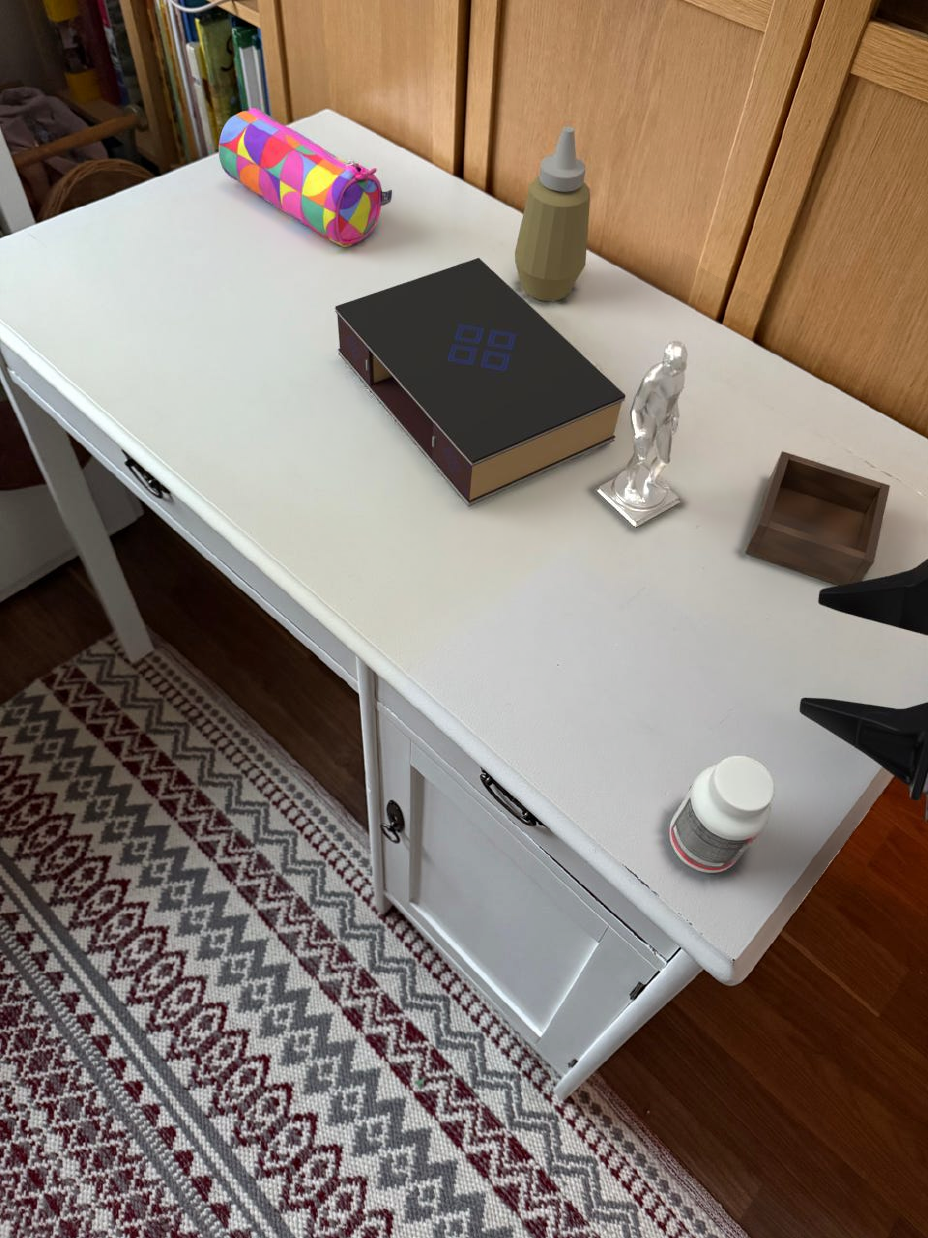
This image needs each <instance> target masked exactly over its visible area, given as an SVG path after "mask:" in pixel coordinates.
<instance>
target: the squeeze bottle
mask: <svg viewBox="0 0 928 1238" xmlns="http://www.w3.org/2000/svg"><path fill="white" fill-rule="evenodd" d="M575 133H576V132H575V128H574V127H572V126H569V125H565V126H564V127H562V129H561V132H560V134H559V138H558V140H557V143H556V147H555V149H554V152H553V154H550V155H548V156H546V157H544V158H543V159H542V160H541V162H540V169H539V176H537V177H535V178H534V179H533V180H532V181H531V182H530V184H529V186H528V191H527V194H526V195H527V196H526V200H525V205H524V210H523V214H522V218H521V223H520V228H519V231H518V235H517V236H518V237H517V241H516V246H515V250H514V262H515V266H516V270H517V275H518V278H519V281H520V282H519V283H520V286H521V289H522V290H523V291H524V293H525V294H526V295H528V296H530V297H531V298H533V299H536V300H539V301H544V302H555V301H559V300H560V301H561V300H563V299H564V298H566V297H567V296H569V294H570V293H571V291H572V290H573V288H574V286H575V284H576V282H577V281H578V280H579V277H580V276H581V274H582V272H583V270H584V269H585V266H586V264H587V263H586V262H587V249H588V234H589V219H590V205H591V189H590V187H589V186H588V185H587V184H586V182H585V175H586V164H585V163H584V162H583V161H582V160H581V159H580V158H578V157H577V153H576V137H575V136H576V135H575Z"/></svg>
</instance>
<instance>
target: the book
mask: <svg viewBox="0 0 928 1238" xmlns="http://www.w3.org/2000/svg"><path fill="white" fill-rule="evenodd" d="M334 310H335V311H334V312H335V313H336V315H337V316H336V317H337V329H338V343H339V348H338V349H337V350H338V353H337V354H338V355H339V356H340V357H341V359H342V360H343V361H344V362H345V363H346V364H347V366H348V367H349V368H350V369H351V371H352V372H353V373H354V374H355V375H356V376H357V377H358V379H359V380H360V381H361V382H362V383H363V384H364V386H365V387H366V388H367V389H368V390H369V391H370V393H371V394H372V395H373V396H374V397H375V399H376V401H378V402H379V404H381V406H382V407H383V409H385V411H386V412H387V413H388V414H389V415H390V416H391V418H392V419H393V420H394V421H395V422H396V423H397V424H398V426H399V427H400V428H401V429H402V430H403V431H404V433H405V434H406V435H407V436H408V437H409V439H410V440H411V441H412V443H414V445H415V446H416V448H418V449H419V451H420V452H421V453H422V455H424V456H425V458H426V459H427V460H428V461H429V462H430V464H431V465H432V466H433V467H434V468H435V469H436V471H437V472H438V473H439V475H441V476H442V478H443V479H444V480H445V481H446V482H447V484H449V486H450V488H452V489H453V490H454V492H455V493H456V494H457V496H459V498H461V500H462V501H463V502H464V504H465V505H466V506H467V507H468V508H469V507H471V506H473V505H476V504H478V503H480V502H482V501H485V500H487V499H489V498H491V497H493V496H496V495H498V494H500V493H503V492H505V491H507V490H509V489H512V488H513V487H516V486H519V485H520V484H523V483H524V482H527V481H529V480H532V479H534V478H536V477H539V476H540V475H543V474H544V473H547V472H549V471H551V470H553V469H555V468H558V467H560V466H563V465H564V464H567V463H569V462H571V461H573V460H575V459H578V458H580V457H583V456H584V455H586V454H589V453H591V452H593V451H595V450H598V449H600V448H603V447H604V446H607V445H608V444H611V443H613V442H616V435H615V431H616V428H617V424H618V420H619V416H620V412H621V407H622V404H623V402H625V401H626V394H625V393H624V391H622V390H621V389H620V388H619V387H617V386H616V385H615V383H613V382H612V381H611V380H610V379H609V378H608V377H607V376H606V375H605V374H604V373H602V372H601V370H599V368H598V367H596V366H595V365H594V364H593V362H591V361H590V360H589V359H588V358H587V357H586V356H585V355H583V354H582V353H581V352H580V351H579V350H578V349H577V348H576V347H575V346H574V345H573V344H572V343H570V341H569V340H568V339H567V338H565V337H564V336H563V335H562V334H561V333H560V332H559V331H558V330H557V329H555V327H554V326H552V324H550V323H549V322H548V321H547V320H546V319H545V318H544V317H543V316H542V315H541V314H539V312H538V311H537V310H536V309H534V308H533V306H531V305H530V304H529V303H528V302H527V301H526V300H525V299H523V297H521V295H520V294H518V293H517V292H516V291H515V290H514V289H513V288H512V287H511V286H510V285H509V284H507V282H505V280H503V279H502V278H501V277H500V276H499V275H498V274H497V273H496V272H495V271H494V270H493V269H491V267H490V266H488V264H486V263H485V262H484V261H483V260H482V259H481V258H480V257H477V258H474V259H471V260H467V261H465V262H462V263H459V264H456V265H452V266H450V267H447V268H444V269H441V270H438V271H436V272H433V273H430V274H429V273H428V274H427V275H424V276H421V277H417V278H414V279H412V280H409V281H406V282H403V283H400V284H398V285H394V286H391V287H389V288H385V289H381V290H379V291H376V292H373V293H371V294H368V295H365V296H362V297H358V298H356V299H353V300H349V301H346V302H344V303H341V304H338V305H335V306H334Z"/></svg>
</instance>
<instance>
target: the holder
mask: <svg viewBox="0 0 928 1238" xmlns="http://www.w3.org/2000/svg"><path fill="white" fill-rule="evenodd" d="M780 452H781V453H780V455H779V457H778V459H777V461H776V464H775V466H774V467H773V470H772V472H771V474H770V476H769V479H768V480H767V483H766V486H765V490H764V493H763V495H762V499H761V502H760V505H759V508H758V512H757V513H756V517H755V519H754V520H755V521H754V523H753V527H752V529H751V533H750V536H749V539H748V542H747V545H746V548H745V550H744V551H745V554H746V555H749V556H752V557H754V558H758V559H760V560H764V561H766V562H770V563H773V564H775V565H778V566H781V567H783V568H787V569H790V570H793V571H795V572H799V573H801V574H805V575H807V576H810V577H813V578H816V579H818V580H822V581H825V582H827V583H831V584H833V585H836V586H840V585H845V584H850V583H855V582H860V581H864V578H865V577H866V575H867V574H868V572H869V570H870V569H871V568H872V566H873V564H874V563H875V559H876V553H877V549H878V544H879V540H880V536H881V530H882V526H883V521H884V518H885V517H884V516H885V513H886V512H885V511H886V506H887V502H888V497H889V494H890V493H889V492H890V488H891V485H890V484H887V483H884V482H880V481H877V480H874V479H871V478H867V477H865V476H861V475H859V474H855V473H852V472H849V471H846V470H842V469H840V468H837V467H833V466H830V465H828V464H824V463H821V462H817V461H815V460H811V459H808V458H806V457H802V456H800V455H796V454H792V453H790V452H786V451H783V450H782V451H780Z"/></svg>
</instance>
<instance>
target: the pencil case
mask: <svg viewBox="0 0 928 1238" xmlns="http://www.w3.org/2000/svg"><path fill="white" fill-rule="evenodd" d="M218 158H219V162H220V165H221V167H222V169H223V171H224V173H225V174H226V175H227V176H228V177H230V178H231V179H233V180H235V181H237V182H238V183H240V184H242V185H243V186H245V187H246V188H247V189H249V190H250V191H251V192H253V193H254V194H255V195H257V196H258V197H260V198H262V199H263V200H264V201H266V202H268V203H270V204H272V205H274V207H276V208H278V209H279V210H281V212H284V213H286V214H287V215H289V216H291V217H292V218H294V219H295V220H297V221H298V222H300V223H301V224H303V225H304V226H305V227H308V228H309V229H311V230H313V231H314V232H315V233H317V234H318V235H320V236H322V237H323V238H325V239H326V240H329V241H331V242H333V243H334V244H337V245H339V246H340V247H342V248H347V247H350V246H353V245H354V244H357V243H359V242H361V241H362V240H364V239H365V238H367V237H368V236H369V235H370V234H371V233H372V232H373V230H374V229H375V227H376V225H377V224H378V221H379V217H380V213H381V208H382V206H385V205H388V204H390V203H391V201H392V197H393V190H392V189H389V190H387V191H383V189H382V184H381V182H380V180H379V178H378V177H377V176H376V175H375V174H376V172H377V168H376V167H373V168H371V169H370V170H369V169H368V168H366V167H364V166H363V165H361V164H359V162H358V163H357V162H356V161H354V159H348V160H347V161H346V162H345V161H344V160H342V159H340V158H338V156H336V155H335V154H333V153H331V152H329V151H328V150H327V149H324V148H323V147H322V146H320V145H319V144H317V143H315V142H314V141H313V140H311V139H310V138H308V137H306V136H304V135H303V134H301V133H299V132H298V131H296V130H295V129H292V128H291V127H289V126H286V125H285V124H282V123H280V122H278V121H277V120H276V119H274V118H273V117H272V116H270V115H269V114H268V113H266V112H264V111H262V110H260V109H258V108H255V107H253V108H249V110H244V111H240V112H238V113H236V114H234V115H232V116H231V117H230V118H228V119H227V121H226V123H225V124H224V126H223V128H222V131H221V133H220V137H219V142H218Z"/></svg>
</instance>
